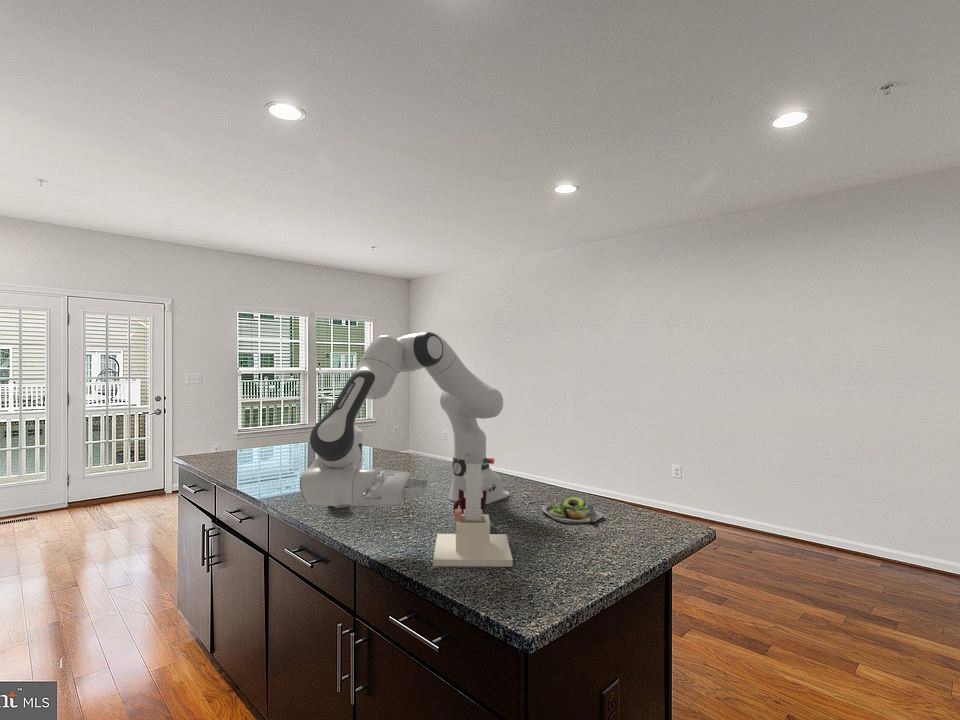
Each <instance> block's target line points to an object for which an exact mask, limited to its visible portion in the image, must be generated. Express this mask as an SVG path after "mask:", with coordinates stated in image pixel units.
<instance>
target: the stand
mask: <svg viewBox="0 0 960 720" xmlns="http://www.w3.org/2000/svg"><path fill="white" fill-rule="evenodd" d="M461 513H462V509H460V508H458V509H455V514H454V521H455V522H456V523H455V533H437V534H436V541H435V545H434V552H433V558H432V567H495V568H496V567H498V568H499V567H504V568H505V567H506V568H507V567H511V568H512V567H514V566H513V565H514V561H513V560H514V559H513V554H512V552H511V548H510V545H509V544H510V543H509V540H508V536H507V534H506V533H505V534H504V533H503V534H501V533H497V534H495V533H491V522H490V516H489V515H490V514H483V517H481V520H480V523H465V517H463V516H464V514H461Z"/></svg>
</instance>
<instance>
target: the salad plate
mask: <svg viewBox="0 0 960 720" xmlns="http://www.w3.org/2000/svg"><path fill="white" fill-rule="evenodd" d="M541 511H542V513H543V515H545V516H547V517H548V518H551V519H552V520H555V521H556V522H560V523H564V524H569V525H570V524H571V525H574V524H575V525H576V524H577V525H578V524H579V525H580V523H581V524H591V522H592V523H596V522H597V521H599V520H601V519H602V518H603V516H604V515H603V513H602V512H599V511H598V510H595V509H594V506H593V505H592V504H588V503H587V504H586V501H585V498H582V497H580V496H569V497H565V498H564V499H563V500H562V502H561V503H560V504H557V505H556V504H550V505H544V506H543V507H542V509H541ZM564 517H565V518H564Z"/></svg>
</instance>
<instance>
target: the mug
mask: <svg viewBox="0 0 960 720" xmlns="http://www.w3.org/2000/svg"><path fill="white" fill-rule="evenodd" d="M464 491H466V486H462V487H460V488H459V500H457V501H456V502H454V504H453V508H452V509H453V514H454V515H455V509H462V513H461V514H464V509H466V498H464ZM481 491H483V498H481V509H482V511H483V514H484V512H485V507H486V504H485V503H486V488H485V487H482V486H481Z"/></svg>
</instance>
